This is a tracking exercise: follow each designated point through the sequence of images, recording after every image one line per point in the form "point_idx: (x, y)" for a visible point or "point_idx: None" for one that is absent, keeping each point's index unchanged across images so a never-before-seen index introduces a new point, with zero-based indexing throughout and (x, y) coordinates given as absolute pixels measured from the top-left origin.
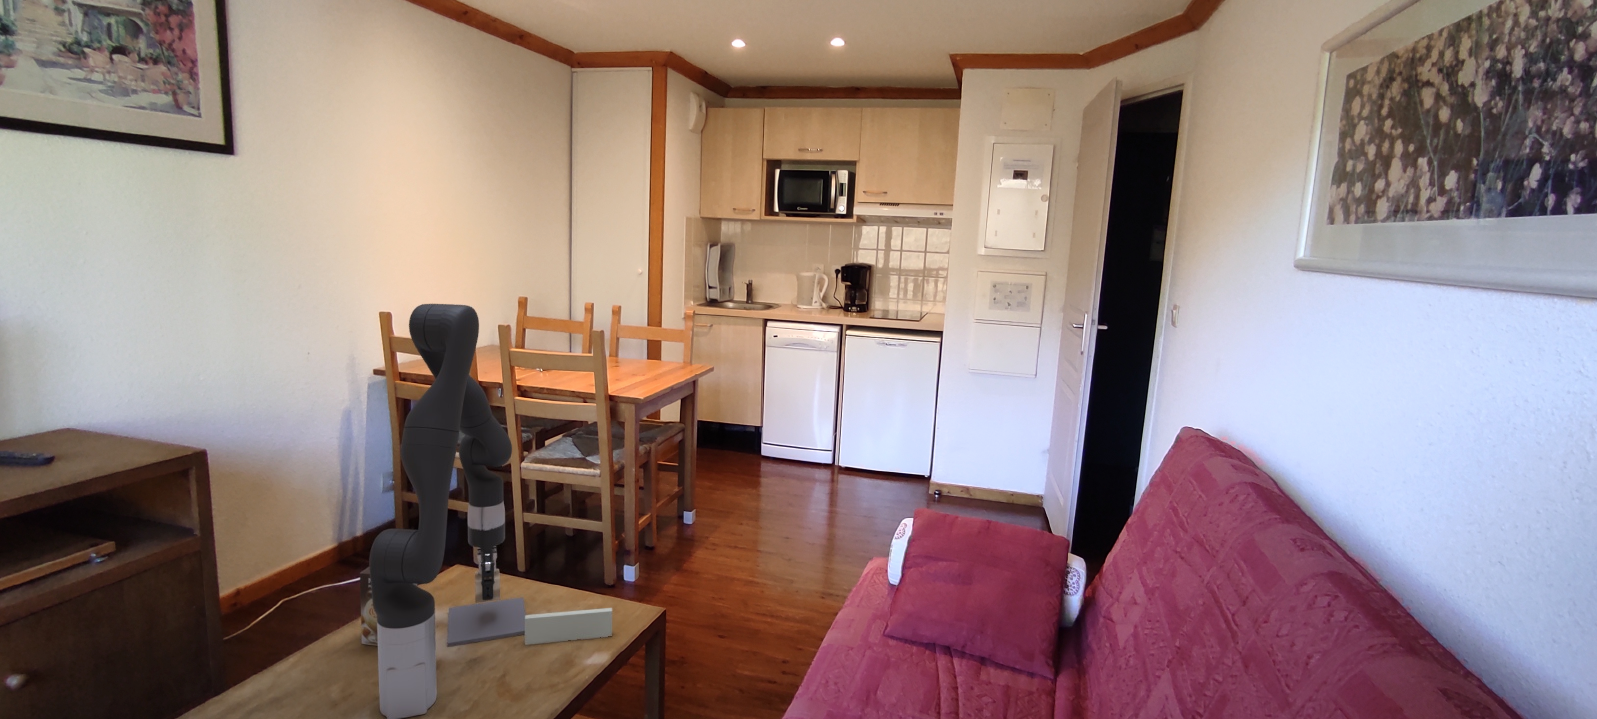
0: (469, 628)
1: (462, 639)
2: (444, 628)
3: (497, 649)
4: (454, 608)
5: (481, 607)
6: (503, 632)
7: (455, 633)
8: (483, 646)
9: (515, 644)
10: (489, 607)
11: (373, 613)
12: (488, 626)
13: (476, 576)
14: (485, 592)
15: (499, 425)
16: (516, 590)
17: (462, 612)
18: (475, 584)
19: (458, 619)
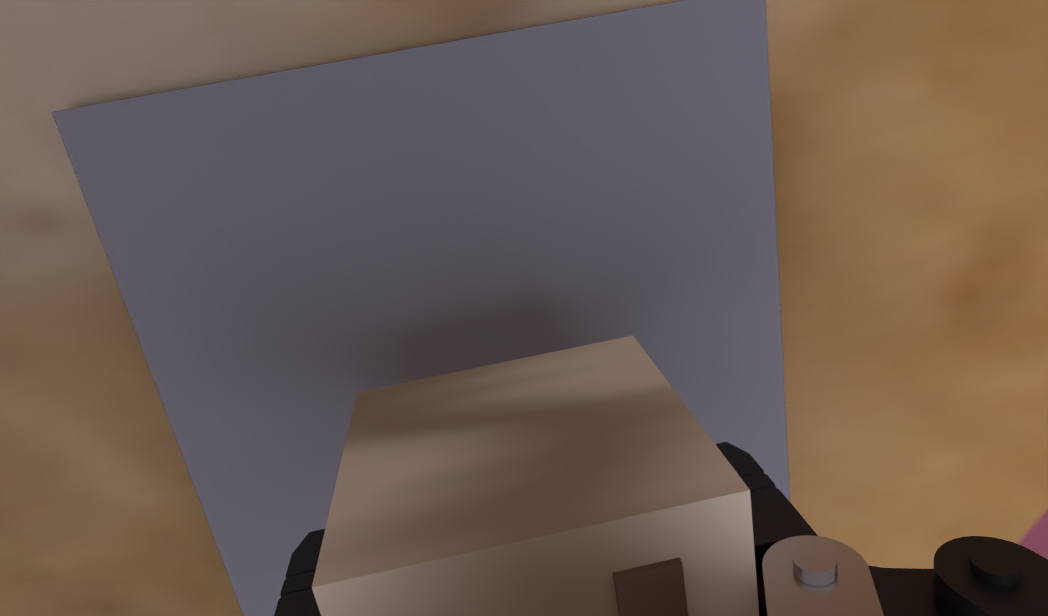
0: (327, 257)
1: (126, 237)
2: (415, 14)
3: (36, 507)
4: (733, 46)
5: (696, 284)
6: (242, 525)
7: (239, 152)
8: (81, 402)
9: (115, 606)
10: (681, 347)
11: None
12: (348, 402)
13: (538, 557)
14: (286, 609)
15: None
16: (947, 466)
17: (636, 138)
18: (324, 549)
19: (509, 127)
